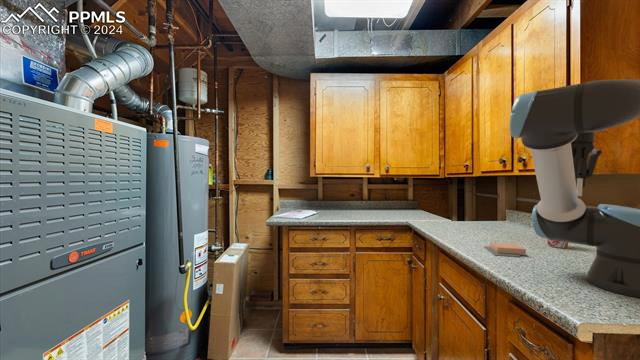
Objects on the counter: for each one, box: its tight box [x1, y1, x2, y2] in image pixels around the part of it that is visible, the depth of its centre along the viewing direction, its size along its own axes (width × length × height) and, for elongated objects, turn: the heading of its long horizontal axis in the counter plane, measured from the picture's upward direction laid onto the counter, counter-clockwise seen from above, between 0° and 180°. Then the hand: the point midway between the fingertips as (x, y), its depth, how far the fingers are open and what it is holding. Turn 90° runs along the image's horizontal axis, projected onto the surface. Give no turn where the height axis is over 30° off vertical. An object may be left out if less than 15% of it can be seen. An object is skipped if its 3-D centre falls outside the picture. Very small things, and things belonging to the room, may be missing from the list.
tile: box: [489, 241, 527, 256], centre depth 112 cm, size 8×2×10 cm
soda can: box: [546, 239, 569, 249], centre depth 121 cm, size 7×7×12 cm
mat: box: [483, 246, 522, 258], centre depth 112 cm, size 12×9×1 cm
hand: (577, 195), depth 101 cm, fingers closed
